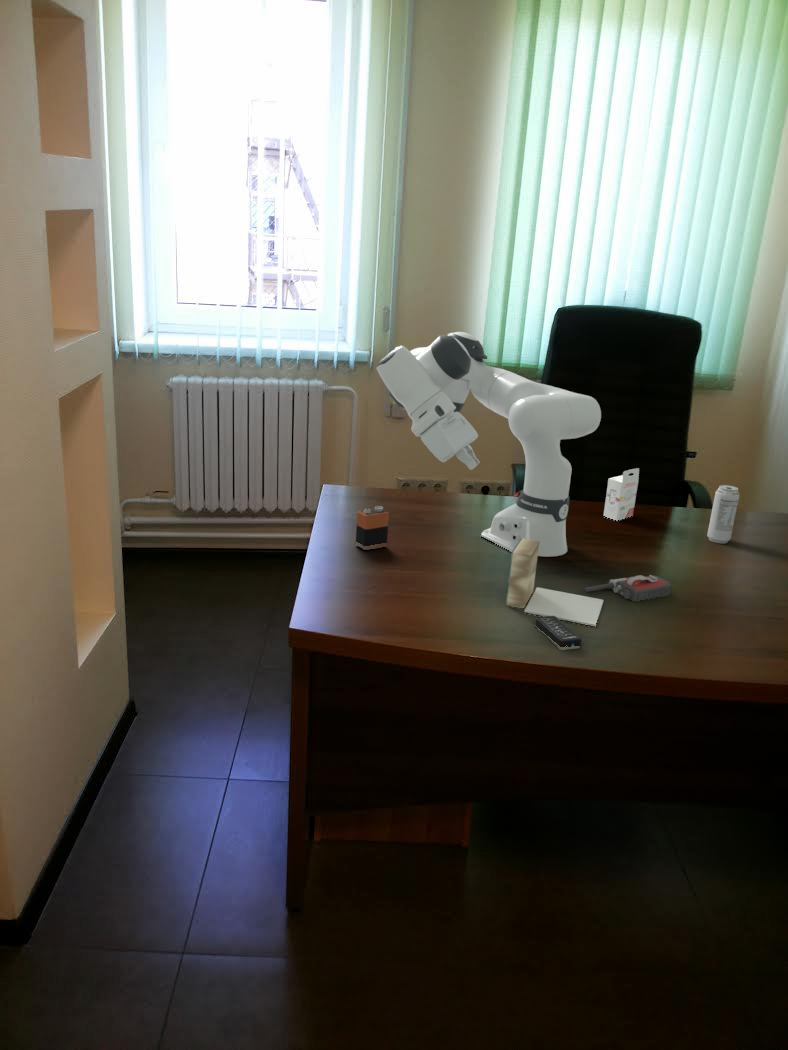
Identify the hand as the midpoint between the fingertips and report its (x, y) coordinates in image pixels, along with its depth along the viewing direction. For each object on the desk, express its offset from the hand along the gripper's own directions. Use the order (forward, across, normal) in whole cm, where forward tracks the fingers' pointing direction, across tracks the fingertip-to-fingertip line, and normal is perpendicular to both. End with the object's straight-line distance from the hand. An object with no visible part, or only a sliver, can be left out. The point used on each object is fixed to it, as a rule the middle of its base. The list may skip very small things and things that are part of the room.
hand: (475, 466), depth 173 cm
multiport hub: (+36, +15, -4) cm, 39 cm away
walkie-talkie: (+44, -15, +4) cm, 47 cm away
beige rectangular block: (+28, 0, -11) cm, 30 cm away
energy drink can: (+57, -67, +18) cm, 90 cm away
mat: (+35, 0, -4) cm, 35 cm away
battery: (0, -14, -39) cm, 41 cm away
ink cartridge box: (+38, -74, -1) cm, 83 cm away
